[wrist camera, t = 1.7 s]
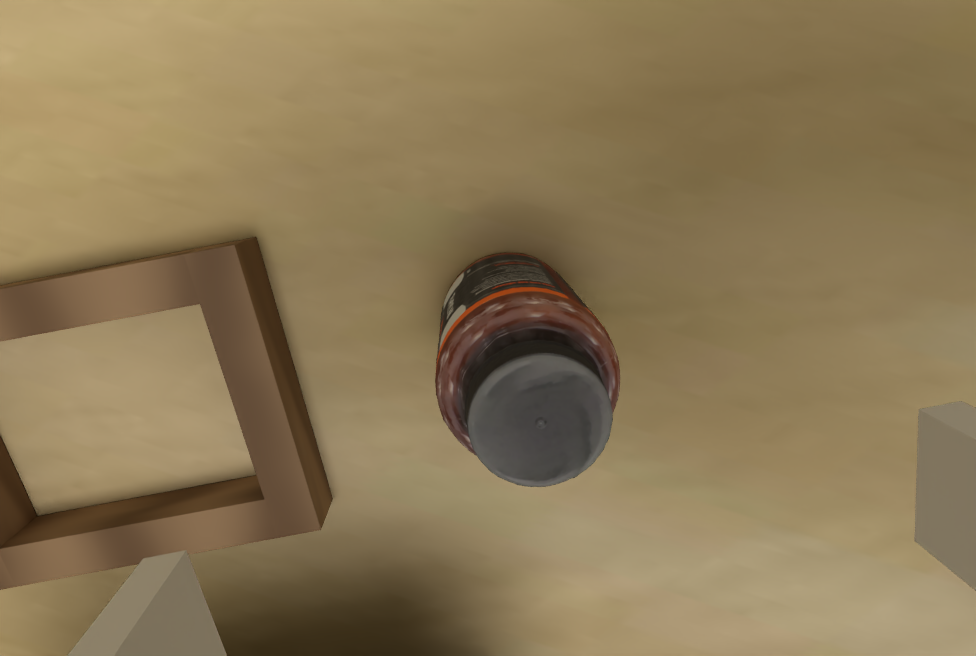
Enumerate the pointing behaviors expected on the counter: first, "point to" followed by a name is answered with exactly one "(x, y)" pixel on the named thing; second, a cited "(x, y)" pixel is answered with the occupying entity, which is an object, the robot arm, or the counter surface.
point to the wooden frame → (254, 392)
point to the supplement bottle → (525, 371)
